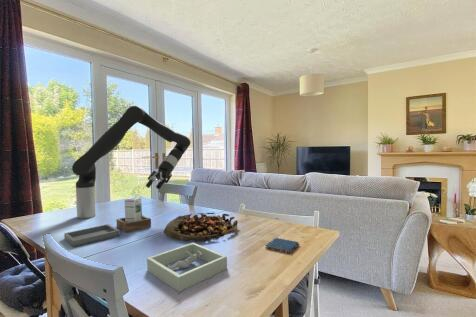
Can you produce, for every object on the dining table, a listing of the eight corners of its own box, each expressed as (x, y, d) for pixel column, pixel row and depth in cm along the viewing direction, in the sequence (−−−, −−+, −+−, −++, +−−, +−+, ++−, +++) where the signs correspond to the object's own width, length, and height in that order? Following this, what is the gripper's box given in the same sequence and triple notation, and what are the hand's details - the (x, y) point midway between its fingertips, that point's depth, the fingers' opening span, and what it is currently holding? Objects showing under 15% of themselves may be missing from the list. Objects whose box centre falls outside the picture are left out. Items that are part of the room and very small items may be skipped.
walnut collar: (116, 227, 127) (116, 219, 127) (140, 221, 136) (139, 214, 136) (126, 232, 119) (126, 224, 119) (151, 226, 128) (150, 218, 128)
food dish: (246, 225, 133) (246, 210, 132) (221, 251, 101) (221, 231, 101) (186, 217, 144) (186, 203, 143) (147, 238, 113) (147, 221, 112)
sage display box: (147, 270, 82) (146, 258, 82) (193, 253, 95) (193, 242, 95) (178, 291, 70) (178, 277, 69) (227, 268, 83) (226, 256, 82)
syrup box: (135, 229, 124) (135, 199, 124) (125, 228, 125) (124, 198, 125) (142, 225, 130) (141, 197, 129) (132, 224, 131) (131, 196, 130)
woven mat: (291, 256, 93) (290, 250, 93) (264, 250, 98) (264, 244, 98) (300, 246, 101) (300, 241, 101) (275, 241, 107) (275, 236, 107)
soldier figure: (163, 272, 83) (190, 249, 92) (172, 284, 82) (199, 260, 90) (168, 262, 78) (196, 239, 86) (178, 275, 77) (206, 250, 85)
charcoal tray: (64, 238, 112) (64, 233, 112) (108, 229, 125) (108, 224, 125) (73, 247, 102) (72, 241, 102) (119, 235, 115) (119, 230, 115)
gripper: (156, 160, 147) (139, 182, 138) (173, 160, 139) (156, 184, 130) (164, 168, 152) (148, 190, 143) (181, 169, 144) (165, 193, 135)
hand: (152, 187), depth 136 cm, fingers open, 8 cm apart
